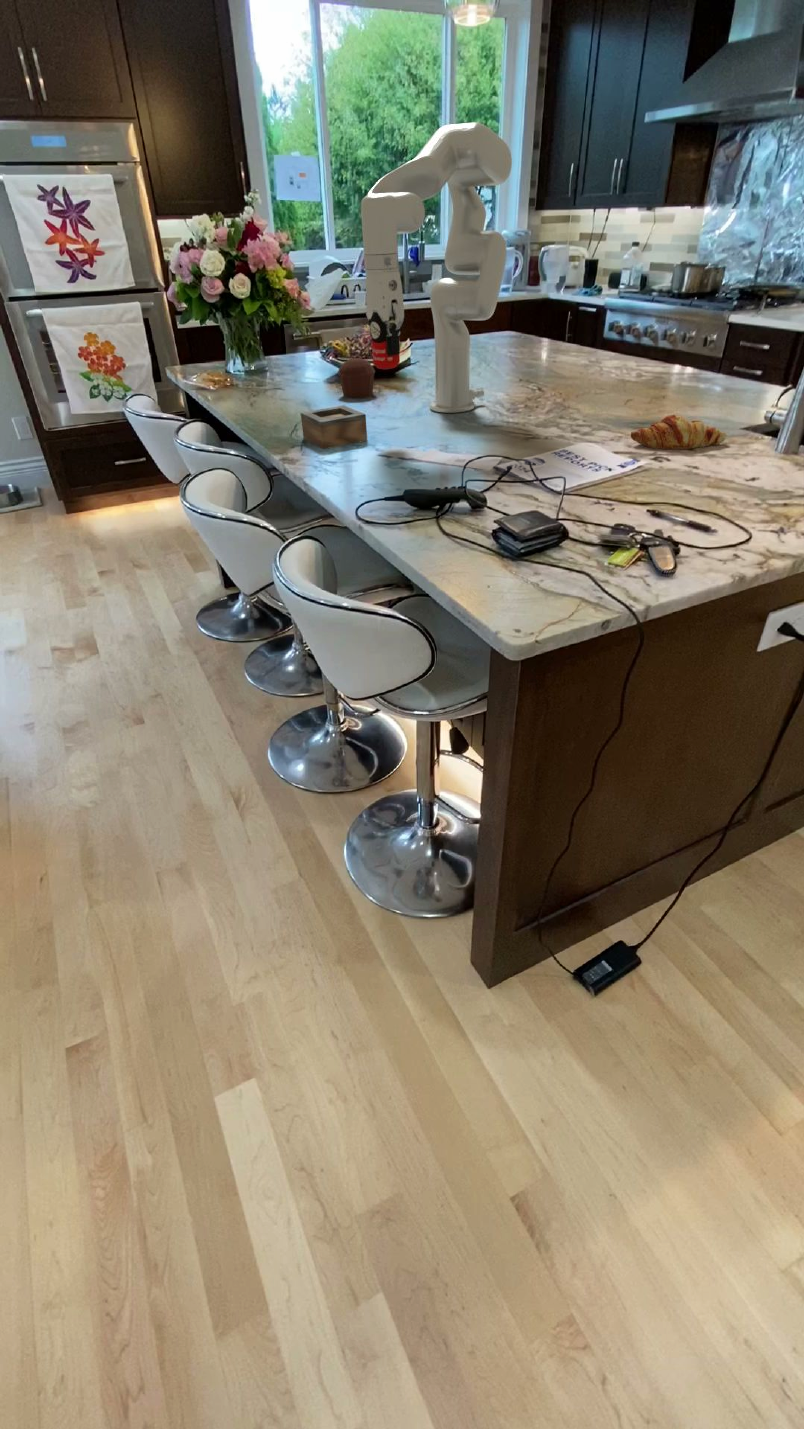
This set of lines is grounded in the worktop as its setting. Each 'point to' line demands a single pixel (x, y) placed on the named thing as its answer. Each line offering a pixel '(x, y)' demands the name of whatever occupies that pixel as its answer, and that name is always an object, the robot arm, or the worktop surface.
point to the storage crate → (334, 426)
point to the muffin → (356, 378)
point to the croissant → (678, 434)
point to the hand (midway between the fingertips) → (385, 352)
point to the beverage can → (381, 344)
